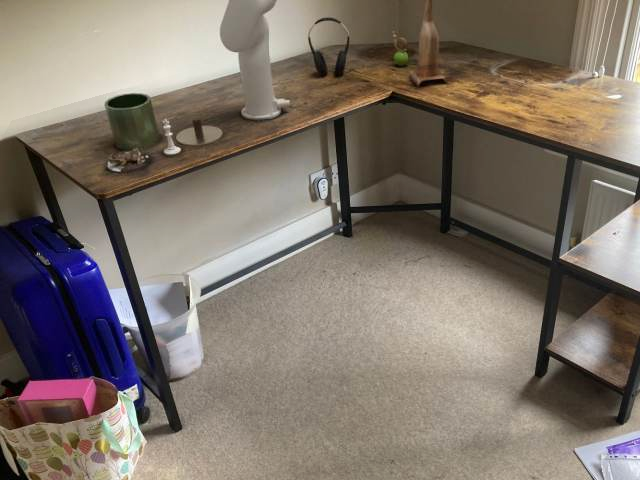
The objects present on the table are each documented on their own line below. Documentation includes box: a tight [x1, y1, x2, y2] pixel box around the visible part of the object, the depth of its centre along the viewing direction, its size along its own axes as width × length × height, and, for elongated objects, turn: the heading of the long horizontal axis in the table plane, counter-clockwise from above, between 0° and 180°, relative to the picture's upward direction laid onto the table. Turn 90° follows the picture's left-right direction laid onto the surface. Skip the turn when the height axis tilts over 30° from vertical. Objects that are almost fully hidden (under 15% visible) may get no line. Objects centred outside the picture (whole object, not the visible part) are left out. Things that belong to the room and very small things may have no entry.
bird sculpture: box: [408, 0, 449, 87], centre depth 222 cm, size 11×12×32 cm
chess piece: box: [162, 118, 182, 155], centre depth 184 cm, size 5×5×10 cm
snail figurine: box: [391, 30, 409, 67], centre depth 242 cm, size 5×6×12 cm
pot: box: [103, 92, 161, 151], centre depth 190 cm, size 13×13×12 cm
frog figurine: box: [107, 148, 149, 173], centre depth 181 cm, size 12×12×4 cm
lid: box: [175, 117, 224, 147], centre depth 193 cm, size 14×14×6 cm
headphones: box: [307, 16, 350, 76], centre depth 232 cm, size 9×15×20 cm, turn 91°
